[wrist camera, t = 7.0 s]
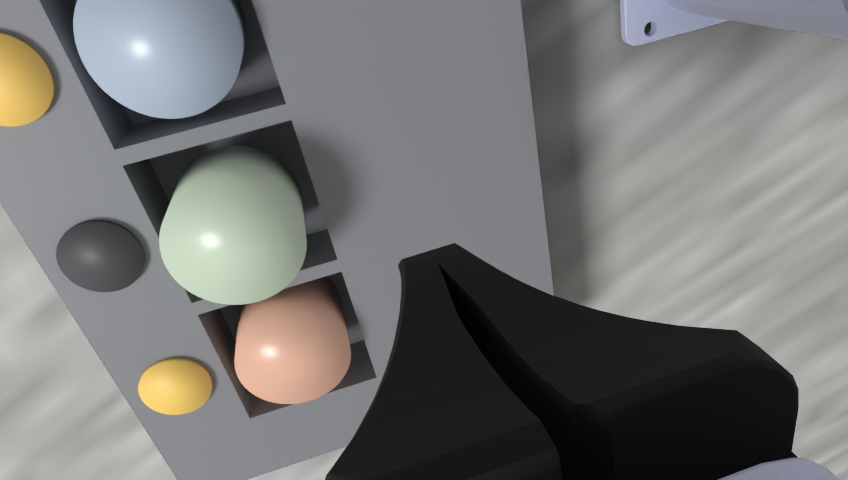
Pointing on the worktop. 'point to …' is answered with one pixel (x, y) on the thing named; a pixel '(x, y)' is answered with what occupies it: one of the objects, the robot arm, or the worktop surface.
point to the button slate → (162, 52)
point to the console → (319, 184)
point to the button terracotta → (293, 343)
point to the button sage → (234, 226)
